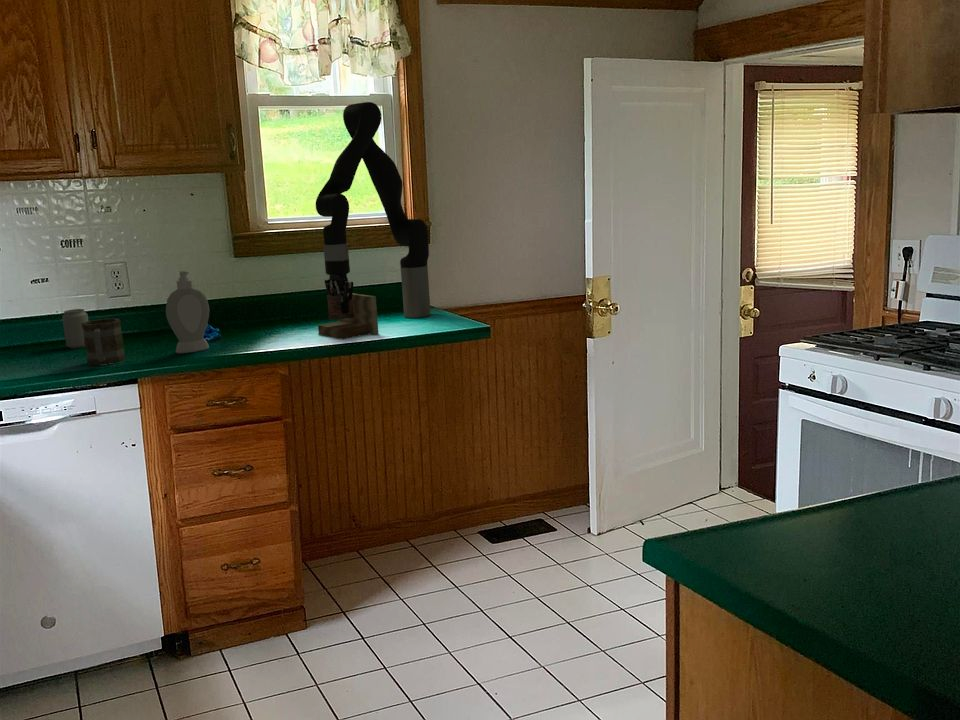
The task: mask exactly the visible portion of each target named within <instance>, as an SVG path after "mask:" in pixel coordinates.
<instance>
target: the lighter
mask: <svg viewBox="0 0 960 720" xmlns="http://www.w3.org/2000/svg"><path fill="white" fill-rule="evenodd" d="M333 292H335V293H334V295H333ZM330 293H331V295H328V294H327V295H326V299H327V308H328V320H329V321H332V320H335V321H336V320H340V319H348V318H354V314H353V302H352V300H349V301H348V307H349V313H347V314H342V311H341V299H340V296H339V295H338V293H337V289H336V288H333V289H332V288H331V289H330ZM348 296H349V294H348ZM352 296H353V295H352ZM343 298H344V294H343Z"/></svg>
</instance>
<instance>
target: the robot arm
mask: <svg viewBox="0 0 960 720" xmlns="http://www.w3.org/2000/svg"><path fill="white" fill-rule="evenodd" d="M380 109H381V108H380V107H379V106H378V105H377V104H376V103H374V102H372V101H366V102H358V103H352V104H349V105H346V107H344V109H343V113H342V118H343V119H342V120H343V123H344V126H345V129H346V131H347V132H348V134H349V136H350V138H351V141H350V142H349V143H348V144H347V145H346V147H345V148H344V149H343V151H341V153H340V154H339V156H338V157H337V158H336V160H335V162H334V164H333V168H332V170H331V173H330V176H329V178H328V180H327V182H326V183H324V186H323V187H322V189H321V190H320V192H319V193H318V194H317V197H316V198H315V210H316V213H317V214H318V215H320V216H321V217H325V218H329V217H330V218H331V221H330V224H327V225H324V227H323V229H322V236H323V245H324V246H323V257H324V258H323V259H324V269H325V274H326V275H328V276H329V277H328V279H324V285H325V289H326V293H327V296H328V295H331V293H330V289H331V288H332V289H333V288H336V289H337V293H338V295H339V296H340V299H341V311H342V314H347V313H349V307H348V301H349V300H352V295H353V293H354V281H349V279H348V278H349V277H348V274H349V273H350V272H351V268H350V258H349V255H350V254H349V248H348V243H347V226H348V220H349V214H350V204H349V200H348V198H347V197H346V195H344V194H343V193H347V192H348V191H350V190H351V187H352V184H353V182H354V179H355V176H356V173H357V170H358V168H359V165H360V164H361V161H363V163H364V165H365V167H366V170H367V172H368V175H369V177H370V180H371V182H372V184H373V186H374V188H375V190H376V192H377V194H378V198H379V200H380V202H381V205H382V208H383V210H384V212H385V215H386V218H387V221H388V225H389V227H390V231H391V234H392V237H393V239H394V240H395V242H396V244H398V245H399V246H401V247H408V253H407V254H406V256H403V257H401V259H400V261H399V265H400V275H401V276H400V278H401V279H400V280H401V290H402V291H401V292H402V303H403V317H404V318H409V319H412V318H413V319H414V318H425V317H429V316H431V300H430V297H431V296H430V283H429V281H430V280H429V270H428V260H429V256H430V246H429V244H430V243H429V241H430V240H429V239H430V237H429V235H430V234H429V229H428V226H427V223H426V222H425V221H424V220H422V219H419V218H417V219H416V218H408V216H407V215H406V213H405V212H404V209H403V205H402V193H403V180H402V177H401V174H400V171H399V170H398V168H397V165H396V163H395V161H394V160H393V159H392V158H391V157H390V156H389V155H388V154H387V153H386V152H385V151H384V150H383V149H382V148H381V147H380V146H379V145H378V144H377V142H376V141H375V140H374V137H375V135H376V133H377V131H378V130H379V128H380V125H381V123H382V113H381V112H382V111H381V110H380ZM334 293H335V292H333V295H334ZM348 293H349V296H348ZM343 294H344V298H343Z"/></svg>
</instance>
